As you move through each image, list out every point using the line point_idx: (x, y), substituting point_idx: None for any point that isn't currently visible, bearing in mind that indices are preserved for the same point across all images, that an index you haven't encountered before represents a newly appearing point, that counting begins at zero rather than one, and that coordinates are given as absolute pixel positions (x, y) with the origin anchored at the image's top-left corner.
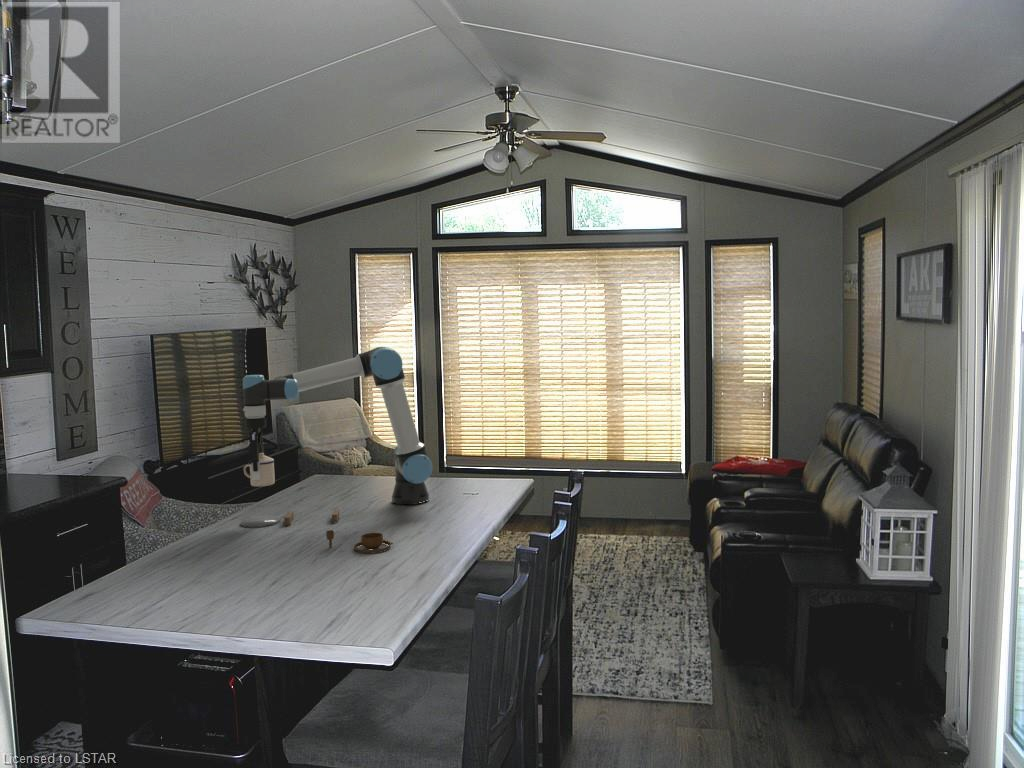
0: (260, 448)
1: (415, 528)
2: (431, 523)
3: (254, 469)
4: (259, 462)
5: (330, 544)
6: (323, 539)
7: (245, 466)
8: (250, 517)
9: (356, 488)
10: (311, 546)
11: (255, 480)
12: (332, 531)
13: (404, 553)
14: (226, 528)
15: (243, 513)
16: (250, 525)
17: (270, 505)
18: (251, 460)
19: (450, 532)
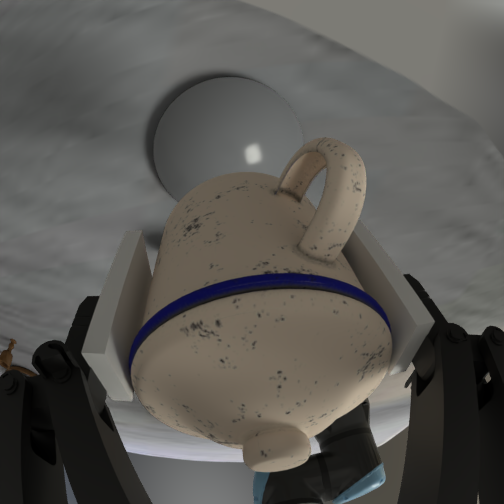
0: (409, 465)
1: (140, 422)
2: (170, 432)
3: (81, 318)
4: (127, 396)
5: (9, 345)
6: (49, 332)
7: (328, 183)
8: (285, 104)
9: (480, 318)
10: (6, 316)
11: (161, 240)
12: (8, 366)
13: None
14: (163, 37)
15: (397, 73)
16: (157, 128)
17: (460, 159)
18: (2, 387)
19: (123, 438)
